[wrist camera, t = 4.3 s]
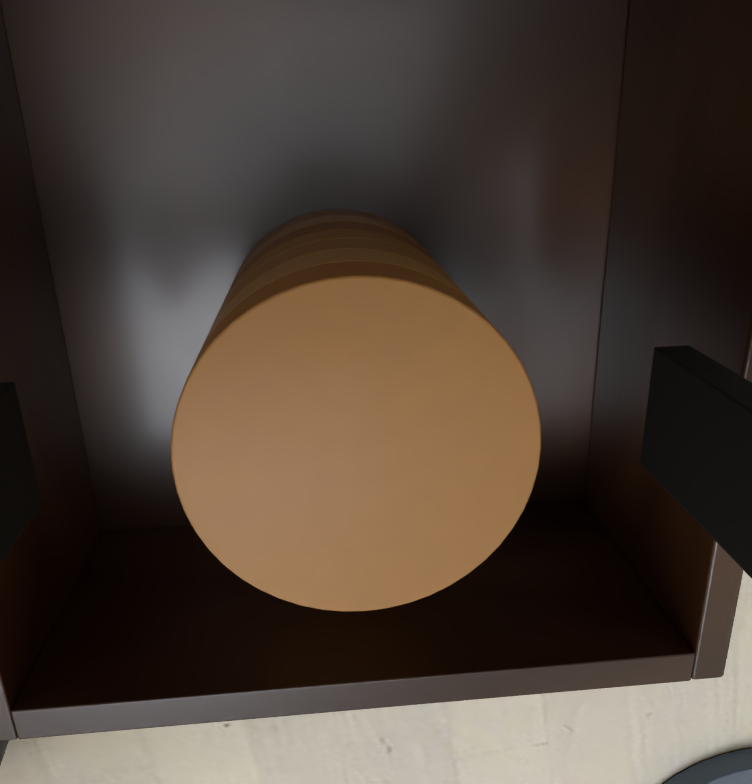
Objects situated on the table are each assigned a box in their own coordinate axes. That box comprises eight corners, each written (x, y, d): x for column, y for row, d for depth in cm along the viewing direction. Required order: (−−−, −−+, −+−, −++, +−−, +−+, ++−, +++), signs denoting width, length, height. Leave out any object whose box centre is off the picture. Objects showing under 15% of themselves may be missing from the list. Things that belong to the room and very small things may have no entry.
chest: (596, 506, 27) (724, 678, 19) (86, 541, 26) (-21, 743, 17) (657, -117, 20) (908, -289, 11) (-45, -115, 18) (-334, -308, 10)
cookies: (450, 204, 22) (553, 266, 12) (447, 417, 24) (532, 598, 15) (216, 213, 21) (144, 284, 12) (238, 429, 24) (193, 625, 14)
